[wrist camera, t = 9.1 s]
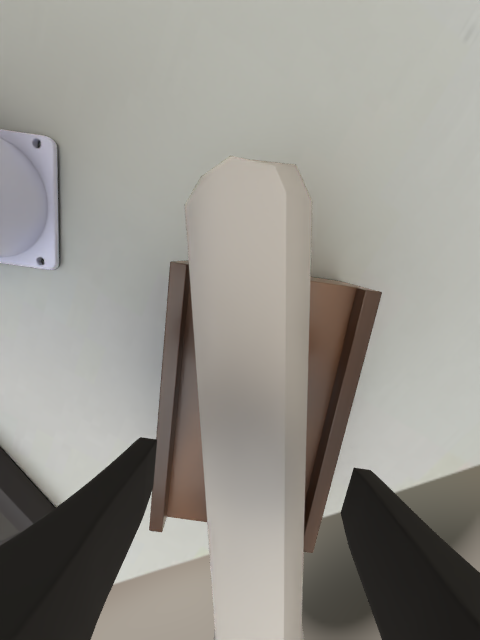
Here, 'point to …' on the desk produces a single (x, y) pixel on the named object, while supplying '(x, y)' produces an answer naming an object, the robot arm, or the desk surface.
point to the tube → (252, 388)
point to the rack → (322, 397)
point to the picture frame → (18, 500)
